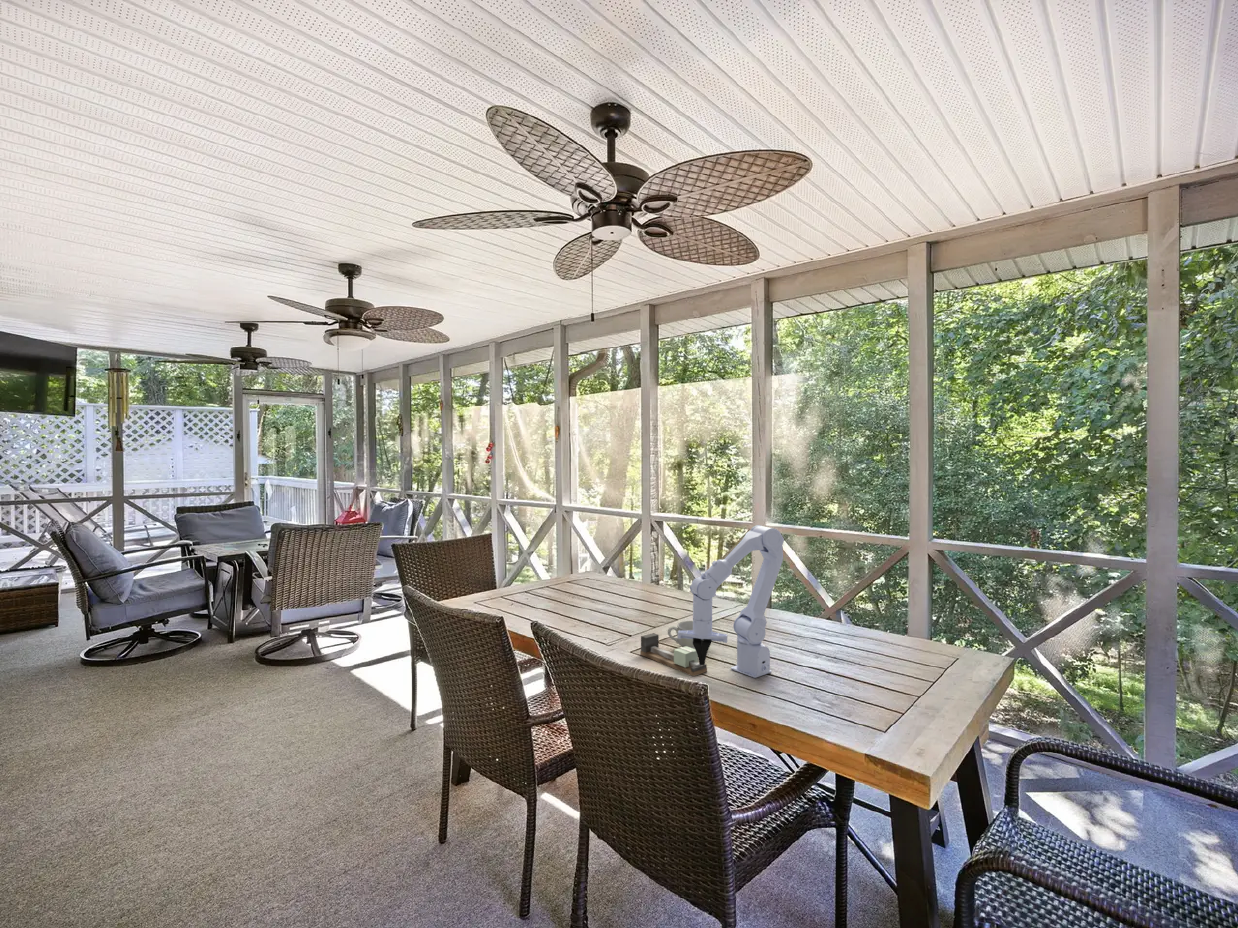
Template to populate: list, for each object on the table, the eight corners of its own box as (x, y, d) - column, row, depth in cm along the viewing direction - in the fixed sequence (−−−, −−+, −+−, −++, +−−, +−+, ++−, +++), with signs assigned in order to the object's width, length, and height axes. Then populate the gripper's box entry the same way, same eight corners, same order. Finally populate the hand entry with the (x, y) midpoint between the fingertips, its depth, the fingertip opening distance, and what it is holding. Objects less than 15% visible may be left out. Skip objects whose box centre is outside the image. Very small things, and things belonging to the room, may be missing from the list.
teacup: (708, 643, 201) (708, 621, 201) (709, 654, 190) (709, 630, 190) (667, 642, 203) (667, 619, 203) (667, 652, 192) (667, 628, 192)
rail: (707, 671, 175) (707, 651, 175) (692, 676, 171) (693, 655, 171) (654, 650, 194) (654, 632, 194) (640, 654, 190) (640, 636, 190)
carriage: (697, 663, 177) (698, 649, 177) (685, 667, 174) (685, 653, 174) (686, 659, 181) (686, 645, 181) (673, 662, 178) (673, 648, 178)
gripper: (728, 616, 174) (728, 661, 174) (680, 613, 178) (680, 657, 178) (726, 623, 167) (726, 669, 167) (676, 619, 171) (676, 665, 171)
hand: (702, 664), depth 172 cm, fingers closed
